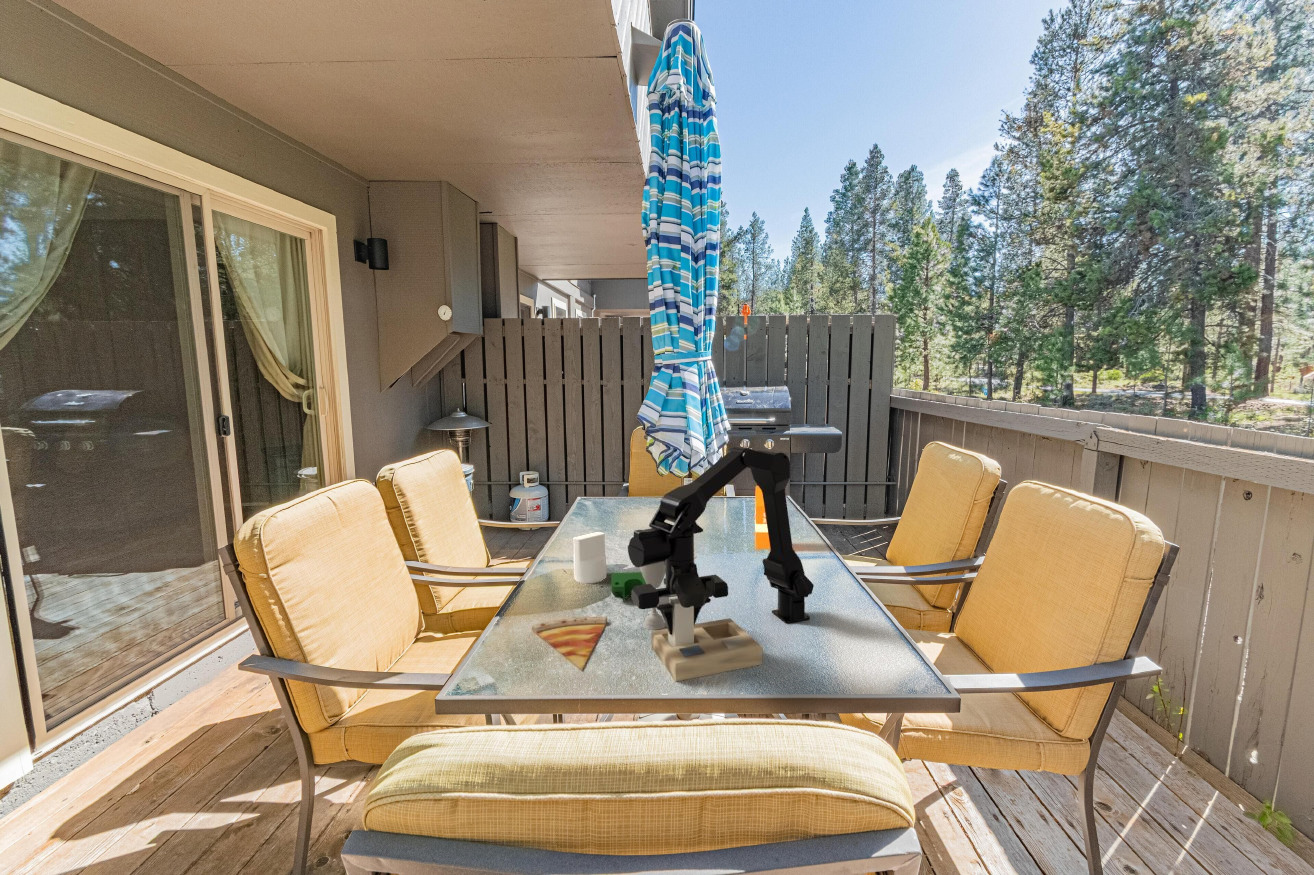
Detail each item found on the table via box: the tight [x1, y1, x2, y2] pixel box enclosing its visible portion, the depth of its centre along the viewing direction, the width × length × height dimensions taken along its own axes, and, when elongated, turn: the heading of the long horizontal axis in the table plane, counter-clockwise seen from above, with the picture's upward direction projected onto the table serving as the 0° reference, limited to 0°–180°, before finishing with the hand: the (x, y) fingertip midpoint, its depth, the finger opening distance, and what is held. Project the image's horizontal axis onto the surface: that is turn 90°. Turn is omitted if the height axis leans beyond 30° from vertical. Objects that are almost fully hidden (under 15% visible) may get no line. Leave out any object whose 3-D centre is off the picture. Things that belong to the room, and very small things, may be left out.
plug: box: [668, 596, 694, 647], centre depth 115 cm, size 4×4×10 cm
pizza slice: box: [531, 616, 608, 672], centre depth 122 cm, size 16×22×2 cm
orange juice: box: [754, 485, 770, 550], centre depth 184 cm, size 8×9×20 cm
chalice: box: [639, 561, 666, 631], centre depth 129 cm, size 7×7×18 cm
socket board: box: [650, 617, 763, 682], centre depth 115 cm, size 14×18×4 cm
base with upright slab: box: [572, 531, 607, 584], centre depth 160 cm, size 9×9×12 cm
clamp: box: [610, 571, 646, 603], centre depth 145 cm, size 12×6×9 cm, turn 87°
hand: (680, 632), depth 115 cm, fingers closed on plug, 4 cm apart
